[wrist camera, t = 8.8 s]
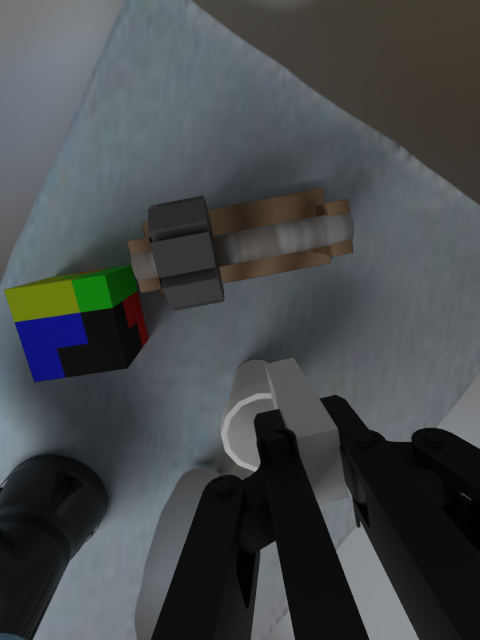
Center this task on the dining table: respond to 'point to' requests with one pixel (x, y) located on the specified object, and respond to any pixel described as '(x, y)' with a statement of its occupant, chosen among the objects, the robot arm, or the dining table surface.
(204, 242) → the dark gray notched block
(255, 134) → the dining table surface
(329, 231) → the pipe rig
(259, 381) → the foam cup
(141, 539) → the dining table surface
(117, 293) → the puzzle toy
